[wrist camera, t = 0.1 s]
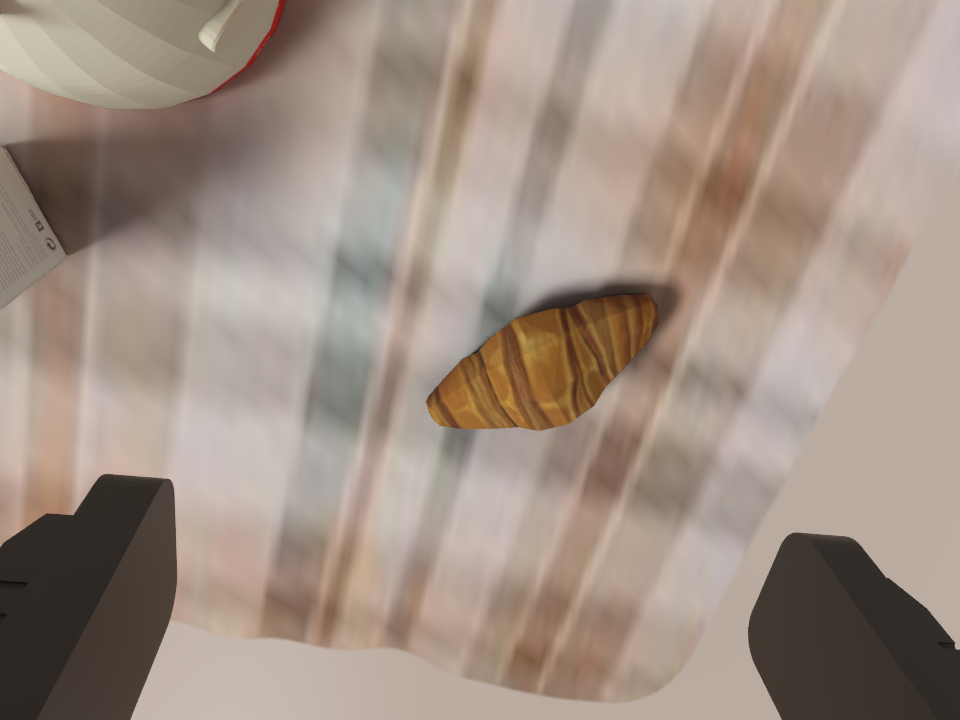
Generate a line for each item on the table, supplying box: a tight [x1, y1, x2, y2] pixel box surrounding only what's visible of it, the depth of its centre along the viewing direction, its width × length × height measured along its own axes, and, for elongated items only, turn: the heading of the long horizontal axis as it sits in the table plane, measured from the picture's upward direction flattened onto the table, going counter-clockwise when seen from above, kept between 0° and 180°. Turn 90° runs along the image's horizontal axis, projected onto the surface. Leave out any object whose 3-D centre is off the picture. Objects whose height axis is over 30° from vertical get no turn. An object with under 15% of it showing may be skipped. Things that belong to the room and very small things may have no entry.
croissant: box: [426, 293, 659, 431], centre depth 38 cm, size 14×7×5 cm, turn 117°
